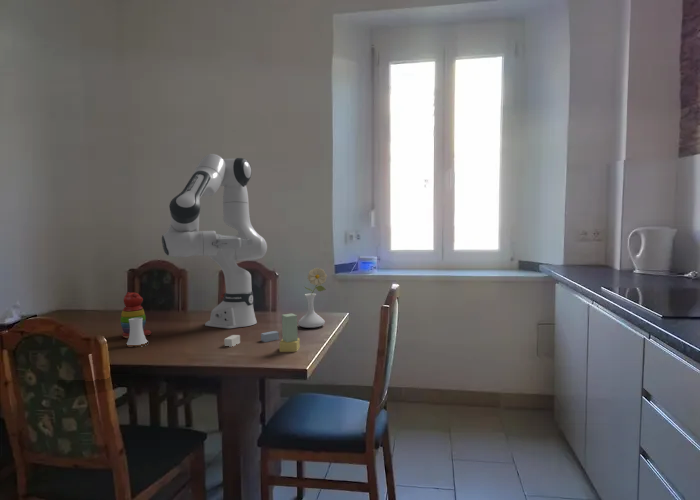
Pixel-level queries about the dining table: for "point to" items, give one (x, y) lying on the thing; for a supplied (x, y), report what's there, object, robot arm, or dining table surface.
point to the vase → (136, 332)
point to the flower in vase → (311, 317)
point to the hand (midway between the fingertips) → (249, 241)
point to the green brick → (289, 327)
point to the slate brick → (269, 336)
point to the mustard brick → (289, 346)
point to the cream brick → (232, 340)
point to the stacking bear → (132, 312)
